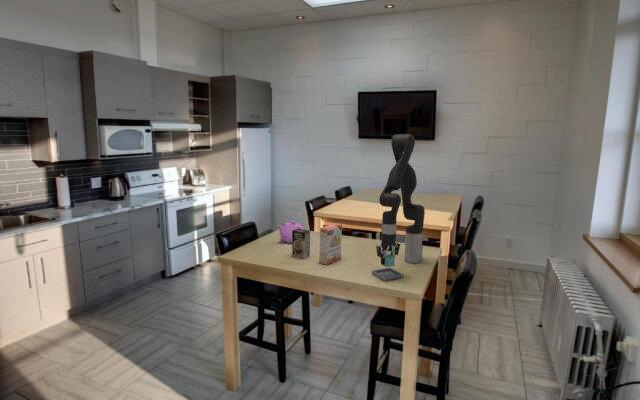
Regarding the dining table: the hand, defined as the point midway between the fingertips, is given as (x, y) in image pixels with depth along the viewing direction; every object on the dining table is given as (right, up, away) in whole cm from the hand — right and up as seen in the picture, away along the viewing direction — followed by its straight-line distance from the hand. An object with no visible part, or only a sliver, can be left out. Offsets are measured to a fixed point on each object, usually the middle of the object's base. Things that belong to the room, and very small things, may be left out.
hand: (387, 263), depth 200 cm
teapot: (-55, +5, +63) cm, 83 cm away
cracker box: (-29, -3, +24) cm, 37 cm away
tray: (0, -7, +1) cm, 7 cm away
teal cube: (0, -1, 0) cm, 1 cm away
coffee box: (-46, -1, +32) cm, 56 cm away
